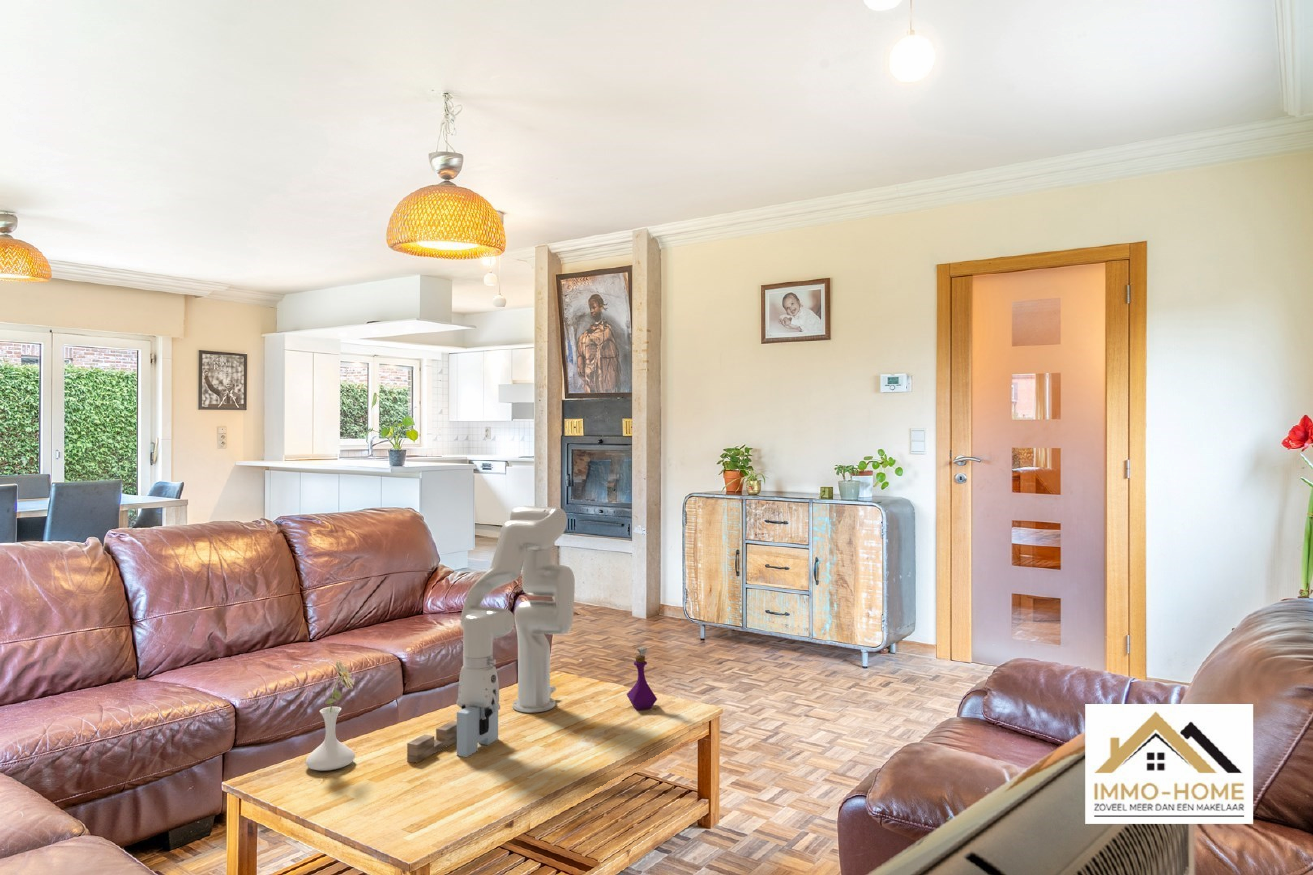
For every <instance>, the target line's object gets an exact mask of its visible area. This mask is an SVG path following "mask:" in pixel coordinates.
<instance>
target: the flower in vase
mask: <svg viewBox="0 0 1313 875" xmlns="http://www.w3.org/2000/svg"><path fill="white" fill-rule="evenodd" d="M335 669H336V670H335V671H336V674H337V675H338V679H337V681H336V683H335V685H334V687H333V689H332V690H333V691H332V695H331V698H330V697H329V698H327V700H326V701H325V702H324V704H328V705H329V704H330V706H328V707H323V708H322V709H320V710H319V713H320V715H322V717H323V720H324V727H325V736H324V740H323V741H322V743H321V744H320V745H318V746H317V747H316V748H315V749H313V751H312V752H310V754H308V756H306V759H305V762H304V763H305V765H306V767H307V768H308V769H310V770H315V771H333V770H338V769H341V768H344V767H346V766H348V765H350V764H351V763H352V762H354V760H355V757H356V754H355V752H354V750H352V749H351V748H350V747H348V745H346V744H344V743H342V742H340V741H339V740H338V739H337V736H336V725H337V724H336V723H337V718H338V715H339V714H340V712H341V711H342V707H340V706H333V703H334V702H336V701H339V700H340V699H341V698H342V693H341V691H339V690H337V689H336V688H337V686H338V683H339V681H341V683H342V685H343V686H344V687H345V688H346V689H348V690H352V689H354V687H353V685H355V682H354V681H353V679H352V673H351V672H349V670H348V666H347V665H346V664H345V665H343V662H342V661H341V660H339V661H338V660H336V662H335ZM334 698H335V699H334Z"/></svg>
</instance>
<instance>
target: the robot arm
mask: <svg viewBox="0 0 1313 875" xmlns="http://www.w3.org/2000/svg"><path fill="white" fill-rule="evenodd" d="M509 518H510V519H509V520H508V521H505V522H504V523H503V524H502V526H501V529H500V531H499V536H498V538H497V539H498V540H497V542H496V547H495V551H494V554H493V557H492V560H491V565H490V567H489V569H488V570H487V571H486V572H485V573H483V574H482V575H481V576H480V577H479V578H478V579H477V580H476V581H475V582H474V584H473V585H472V586H471V587H470V589H469V590H468V592H467V594H466V596H465V600H464V603H463V607H462V610H461V615H460V626H461V629H462V632H463V635H462V636H463V637H462V638H463V639H462V640H463V641H462V642H463V645H462V646H463V647H462V648H463V649H462V650H463V653H462V654H463V655H462V659H463V661H462V666H461V668H460V672H459V679H458V680H459V681H458V696H457V700H456V702H455V704H456V705H457V706H458V707H459V708H461V710H462V709H464V708H466V707H468V706H474V707H480V709H481V719H480V729H479V733H480V735H483V734H485V733H487V732H488V729H489V717H490V716H491V715H492V714H493V713H494V712H496V711H498V712H499V710H500V709H501V704H500V703H499V702H500V688H499V687H500V686H499V677H498V672H497V668H496V666H494V665H496V663H497V659H494V655H493V654H494V652H493V651H494V644H493V643H494V640H493V639H497V638H502V637H505V636H507V635H509V634H511V632H513V629H514V627H515V629H516V634H517V699H516V700H514V701H513V702H512V709H513V710H515V711H517V712H520V713H530V714H531V713H542V712H547V711H550V710H552V709H553V708H555V707H556V700H555V699H553V698H552V697H551V695H552V694H553V693H554V692H556V691H557V688H556V686H555V685H551V646H550V643H549V640H548V639H547V637H546V635H554V636H555V635H556V636H557V635H559V636H563V635H567V634H568V633H569V632H570V631H571V630H572V626H573V622H574V611H575V610H574V609H575V608H574V605H575V590H576V589H575V588H576V587H575V575H574V572H573V570H572V568H570V567H569V566H567V565H563V564H552V563H553V562H552V545H554V543H555V542H556V541H557V540H558V539H559V538H561V536H562V535H563V534H564V532H565V531H566V529H567V526H568V525H567V524H568V516H567V514H566V511H565V510H564V509H563V508H560V507H555V506H535V505H533V506H531V505H530V506H529V505H528V506H526V505H525V506H517V507H515V508H513V509H512V510H511V512H510V514H509ZM520 577H521V589H522V591H523V593H524V594H526V595H528V596H535V597H547V598H554V601H549V600H548V601H547V600H536V599H534V600H533V599H532V600H531V599H530V600H525V601H522V602H520V603H519V604H518V605H517V606H516V608H515V610H514V614H513V612H512V611H511V610H510V609H507V608H501V607H492V606H491V607H490V606H482V602H483V601H484V599H485V598H486V597H487V596H488V595H489V594H490V593H492V592H493V591H494V590H496V589H498V588H500V587H502V586H505V585H507V584H509V583H512V582H515V581H516V580H517V579H519V578H520ZM491 704H492V706H493V707H492V708H491V707H490V706H491Z"/></svg>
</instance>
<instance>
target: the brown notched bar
mask: <svg viewBox="0 0 1313 875" xmlns="http://www.w3.org/2000/svg"><path fill="white" fill-rule="evenodd" d="M456 741H457V720H451V721H448V722H446V723H445V724H443V725H440V726H439V727H436V729H435V735H431V734H423V735H421V736H419V737H417V738H416V739H413V740H411V741H409V742H407V743H406V744H407V745H406V750H407V751H406V762H409V763H414V762H416V763H415V764H418V763H420V762H421V760H422V761H423V759H424V758H425V759H427V758H429V757H431V756H432V755H431V754H433V753H435V754H436V752H437V751H438V752H440V751H442V750H444V749H446V748H447V747H446V746H448V745H449V746H451V745H453V744H454V742H455V743H457V742H456ZM449 746H448V747H449ZM445 747H446V748H445ZM443 748H444V749H443ZM441 749H442V750H441ZM439 750H440V751H439ZM438 752H437V753H438ZM430 755H431V756H430ZM433 755H434V754H433ZM428 756H429V757H428ZM425 759H424V760H425ZM417 762H418V763H417Z"/></svg>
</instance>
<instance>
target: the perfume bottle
mask: <svg viewBox="0 0 1313 875" xmlns="http://www.w3.org/2000/svg"><path fill="white" fill-rule="evenodd" d="M647 650H648V648H647V647H638V648H637V652H638V653H639V654H638V655H636V656H635V658H634V659H635V661H634V662H633V665H634V666H635V667H636V669H637V680H636V683H635V684H634V685H633V686H632V687H631V688H630V690H629V691H628V692H627V693H626V696H627V698H628V699H629V702H630V704H632V706H633V708H635V710H636V711H643V710H650V709H651V708H652V707H653V705H654V704H655V703H656V702H657V700H658V697H657V696H656V695H655V693H654V692H653V690H652V689H651V687H650V686H649V684H648V681H647V680H646V676H645V666H647V664H648V662H647V661H646V660H645V659H646V656H645V655H646V653H647Z"/></svg>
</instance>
